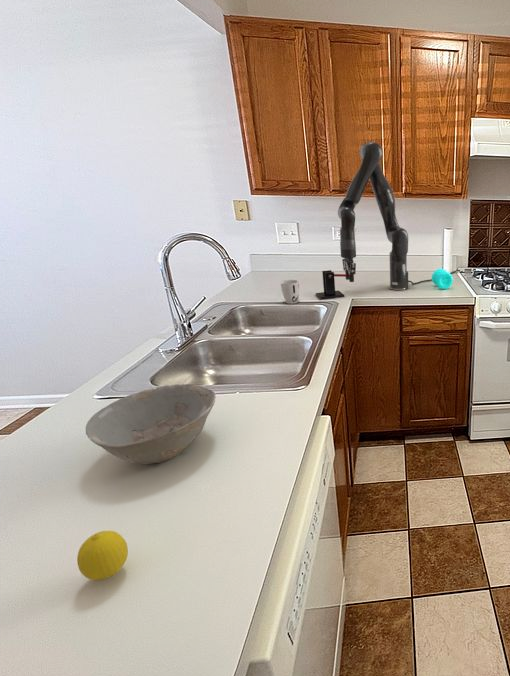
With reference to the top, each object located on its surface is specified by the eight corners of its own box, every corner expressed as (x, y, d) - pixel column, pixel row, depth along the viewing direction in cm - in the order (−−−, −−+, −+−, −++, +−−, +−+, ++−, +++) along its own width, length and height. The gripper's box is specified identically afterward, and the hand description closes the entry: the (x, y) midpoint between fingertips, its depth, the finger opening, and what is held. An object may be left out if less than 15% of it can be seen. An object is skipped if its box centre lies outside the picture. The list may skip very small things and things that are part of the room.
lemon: (82, 577, 59) (65, 537, 57) (127, 552, 64) (113, 513, 61) (92, 600, 56) (75, 559, 54) (138, 572, 60) (125, 532, 58)
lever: (349, 276, 206) (349, 272, 206) (352, 278, 202) (352, 274, 202) (324, 276, 199) (324, 271, 199) (326, 278, 195) (327, 273, 195)
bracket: (338, 292, 208) (337, 268, 204) (344, 297, 201) (342, 272, 197) (315, 295, 202) (313, 270, 198) (320, 300, 195) (318, 274, 190)
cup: (294, 305, 186) (292, 284, 182) (279, 303, 187) (276, 283, 184) (304, 300, 193) (302, 280, 190) (289, 299, 195) (286, 279, 191)
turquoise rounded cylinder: (436, 290, 219) (436, 272, 215) (431, 285, 227) (431, 268, 224) (453, 289, 222) (453, 271, 218) (447, 284, 231) (447, 267, 227)
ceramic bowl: (74, 496, 74) (57, 452, 71) (128, 426, 95) (117, 389, 91) (207, 475, 80) (198, 434, 77) (231, 414, 101) (224, 379, 97)
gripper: (360, 249, 195) (361, 283, 201) (350, 245, 206) (352, 277, 212) (345, 250, 191) (347, 284, 197) (336, 246, 202) (338, 278, 208)
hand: (349, 280), depth 205 cm, fingers closed on lever, 5 cm apart
